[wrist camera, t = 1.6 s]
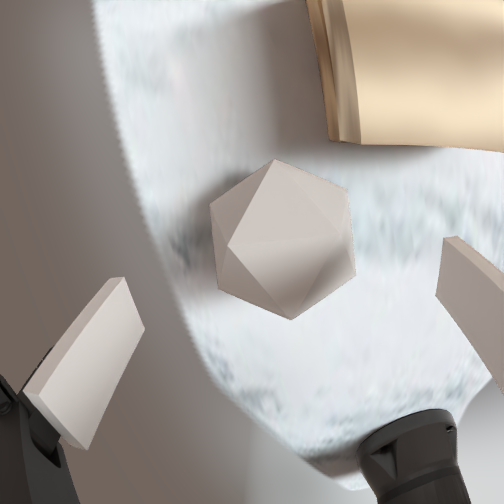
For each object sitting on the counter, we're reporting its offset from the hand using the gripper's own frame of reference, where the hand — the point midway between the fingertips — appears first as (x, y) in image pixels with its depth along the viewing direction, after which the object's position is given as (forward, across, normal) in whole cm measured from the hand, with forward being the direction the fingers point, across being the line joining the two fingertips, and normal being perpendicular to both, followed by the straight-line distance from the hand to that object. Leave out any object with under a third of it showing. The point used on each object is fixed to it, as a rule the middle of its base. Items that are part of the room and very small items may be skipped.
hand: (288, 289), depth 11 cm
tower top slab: (+7, -10, -10) cm, 15 cm away
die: (+10, 0, +1) cm, 10 cm away
